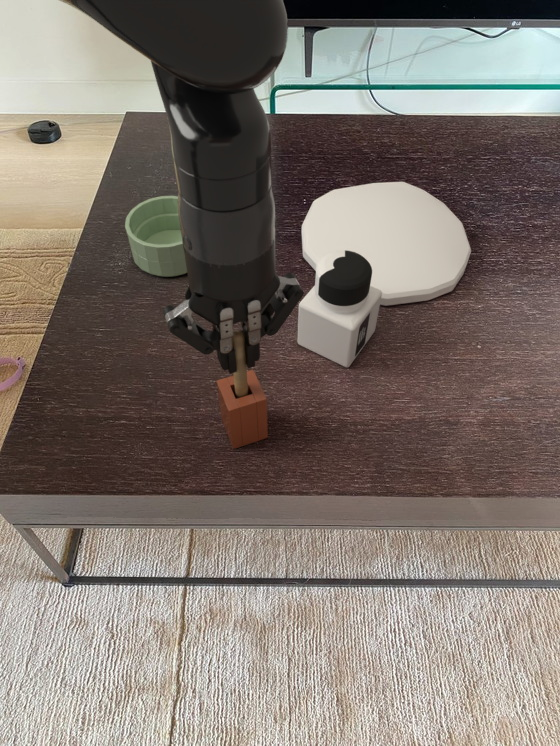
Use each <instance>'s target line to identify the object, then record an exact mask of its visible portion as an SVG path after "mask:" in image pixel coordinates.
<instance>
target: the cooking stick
mask: <svg viewBox="0 0 560 746" xmlns="http://www.w3.org/2000/svg"><path fill="white" fill-rule="evenodd" d="M233 334H234V337H232V345H233V347H234V350H235V357H236V369H237V372H235V373H232V374H233V375H234V386H235V397H236V399H238V398H241V397H244V396H247V395H248V384H247V371H248V370H247V369H248V367H247V365H246V354H245V337H244V333H243V332H242V330H241V329H238V328H236V329H233ZM233 375H232V376H233Z"/></svg>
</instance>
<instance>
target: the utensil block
mask: <svg viewBox="0 0 560 746" xmlns="http://www.w3.org/2000/svg"><path fill="white" fill-rule="evenodd" d="M247 384H248V395H247V396H244V397H241V398H238V399H236V397H235V386H234V375H230V376H228V377H227V376H226V377H223V378H221V379H220V378H219V379H217V380H216V388H217V396H218V403H219V410H220V418H221V422H222V425H223V428H224V430H225V432H226V435H227V438H228V440H229V443H230V445H231V448H232V450H236V449H239V448H241V447H244V446H247V445H251V444H253V443H256V442H259V441H262V440H264V439H265V440H266V439H268V438H269V435H268V434H269V433H268V431H269V430H268V429H269V428H268V398H267V396H266V393H265V392H264V389H263V387H262V385H261V383H260V381H259V378H258V377H257V375H256V372H255V370H254V369H250V370H247Z"/></svg>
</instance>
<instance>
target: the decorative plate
mask: <svg viewBox="0 0 560 746" xmlns="http://www.w3.org/2000/svg"><path fill="white" fill-rule="evenodd" d="M300 232H301V248H302V258H303V259H304V260H305V261H306V262H307V264H309V266H311V268H312V269H313V270H314V271H315V272H316V266H317V263H318V262H319V260H320V259H321V258H322V257H323V256H325V255H326V254H328V253H331V252H334V251H339V250H347V251H352V252H355V253H358V254H360V255H361V256H363V257H364V258H365V259H366V260H367V261H368V262H369V263H370V265H371V267H372V277H371V283H370V286H372V287H374V288H377V289H379V290H381V291H382V296H381V301H380V306H381V305H382V306H386V307H387V306H394V305H401V304H409V303H410V304H411V303H418V302H427V301H430V300H433V299H435V298H437V297H440V296H442V295H445V294H448V293H451V292H453V291H454V289H455V288H456V286H457V284H458V283H459V282H460V280H461V278H462V277H463V275H464V273H465V271H466V268H467V265H468V262H469V260H470V257H471V253H472V248H471V245H470V242H469V240H468V235H467V233H466V230H465V227H464V224H463V222H462V221H461V220H460V219H459V218H458V216H456V215H455V214H454V212H453V211H451V209H450V208H449V207H448V206H447V205H446V204H445V203H444V202H443V201H441V200H440V199H438V198H436V197H435V196H434V195H432V194H430V193H429V192H428V191H426V190H424V189H422V188H420V187H417V186H415V185H412V184H410V183H408V182H405V181H389V182H372V183H366V184H359V185H353V186H347V187H342V188H336V189H332V190H330V191H328V192H327V193H325V194H323V195H321V196H319V197H318V198H316V199H314V201H312V203H311V205H310V208H309V210H308V212H307V213H306V216H305V217H304V220H303V222H302V224H301V231H300Z"/></svg>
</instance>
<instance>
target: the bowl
mask: <svg viewBox="0 0 560 746" xmlns="http://www.w3.org/2000/svg"><path fill="white" fill-rule="evenodd" d="M124 229H125V232H126V237H127V241H128V245H129V249H130V252H131V253H130V254H131V256H132V259H133V262H134V264H135V265H136V266H137V267H138V268H139V269H140V270H142V271H143V272H145V273H148V274H150V275H154V276H157V277H165V278H168V277H169V278H170V277H171V278H172V277H178V276H182V275H185V274H188V273H187V267H186V261H185V254H184V248H183V242H182V236H181V229H180V223H179V216H178V195H160V196H156V197H152V198H149V199H145V200H144V201H142V202H139V203H138V204H136V205H135V206H134V207H133V208H132V209H130V210H129V213H128V214H127V216H126V217H125V221H124Z"/></svg>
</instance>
